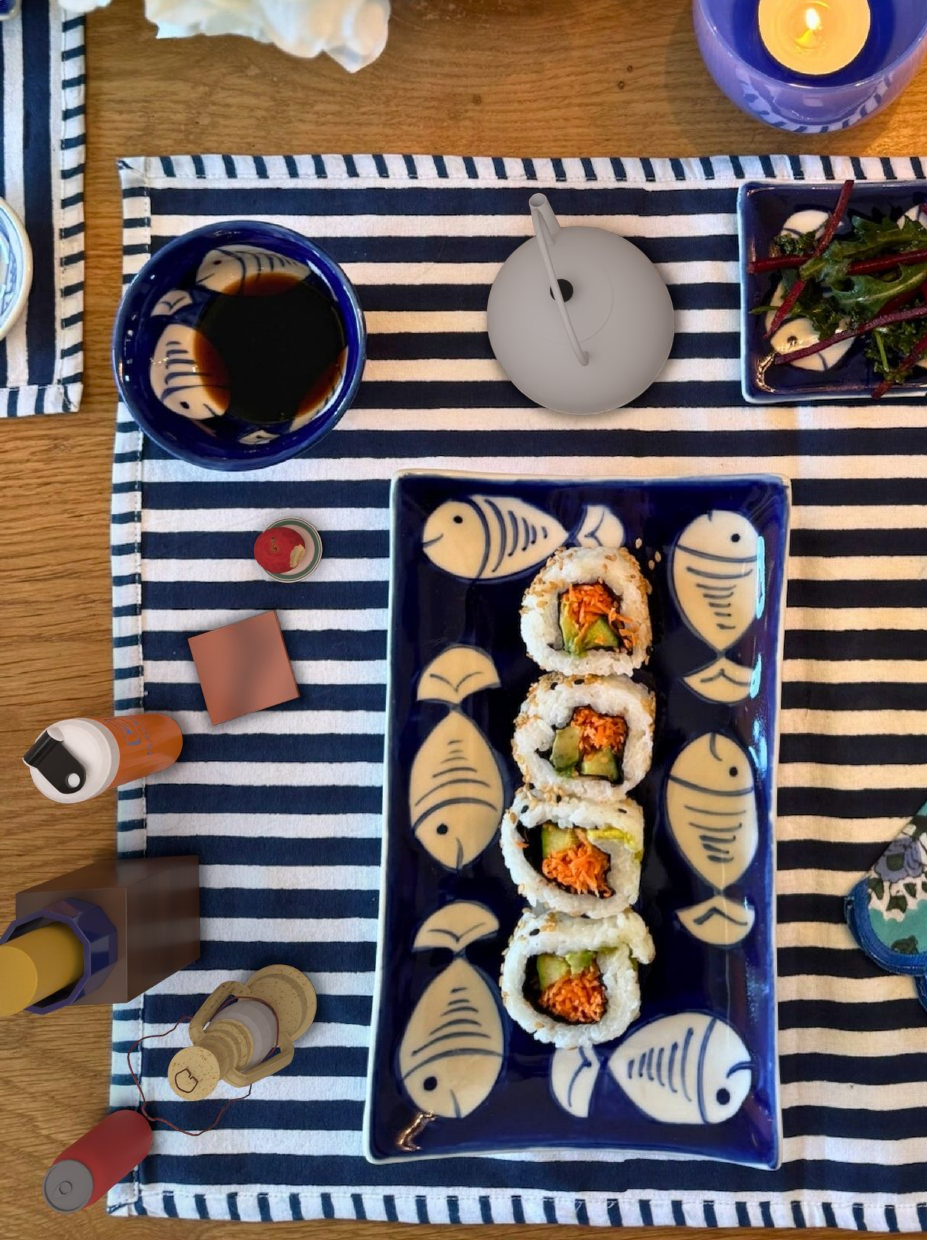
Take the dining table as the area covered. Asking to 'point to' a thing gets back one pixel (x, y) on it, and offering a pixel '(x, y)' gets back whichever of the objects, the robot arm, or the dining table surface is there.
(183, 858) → the stand
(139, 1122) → the beer can
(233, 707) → the coaster
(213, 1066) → the lantern
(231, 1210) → the dining table surface
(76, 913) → the blue faceted ring
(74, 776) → the shaker bottle
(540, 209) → the kettle
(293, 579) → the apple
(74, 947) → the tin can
